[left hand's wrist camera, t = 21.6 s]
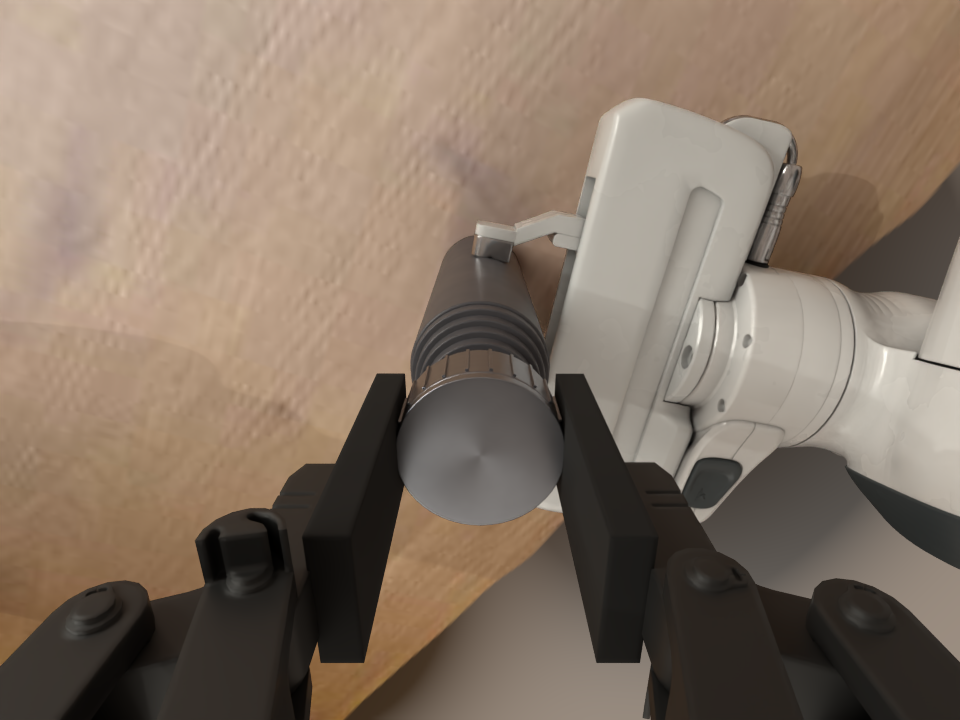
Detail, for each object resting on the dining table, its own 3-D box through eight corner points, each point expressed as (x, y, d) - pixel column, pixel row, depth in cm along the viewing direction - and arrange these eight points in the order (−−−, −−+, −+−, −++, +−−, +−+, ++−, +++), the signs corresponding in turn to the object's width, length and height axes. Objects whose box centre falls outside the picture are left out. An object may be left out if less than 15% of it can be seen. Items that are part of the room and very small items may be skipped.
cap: (555, 484, 16) (564, 526, 14) (407, 486, 16) (398, 528, 14) (561, 346, 14) (572, 374, 12) (397, 348, 14) (385, 376, 12)
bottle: (535, 260, 32) (610, 409, 13) (494, 327, 33) (512, 543, 15) (464, 219, 31) (441, 319, 12) (426, 290, 32) (356, 471, 14)
